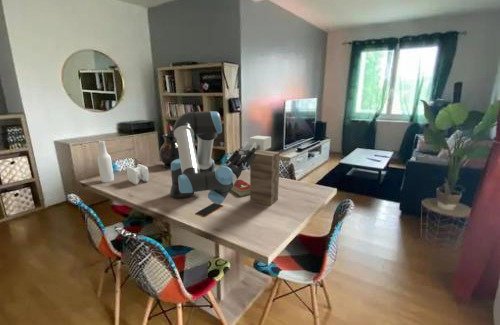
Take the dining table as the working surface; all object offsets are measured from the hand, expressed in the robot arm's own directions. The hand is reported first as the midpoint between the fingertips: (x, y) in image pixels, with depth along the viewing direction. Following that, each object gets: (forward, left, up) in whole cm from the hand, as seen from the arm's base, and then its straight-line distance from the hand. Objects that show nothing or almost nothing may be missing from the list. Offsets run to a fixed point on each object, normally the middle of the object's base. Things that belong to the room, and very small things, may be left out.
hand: (251, 143), depth 139 cm
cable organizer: (-83, -49, -38) cm, 103 cm away
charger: (-1, +1, -4) cm, 4 cm away
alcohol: (-96, -69, -38) cm, 124 cm away
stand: (-8, +13, -38) cm, 41 cm away
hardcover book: (-30, +9, -39) cm, 50 cm away
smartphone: (-12, -21, -39) cm, 45 cm away
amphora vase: (-111, -17, -38) cm, 118 cm away
